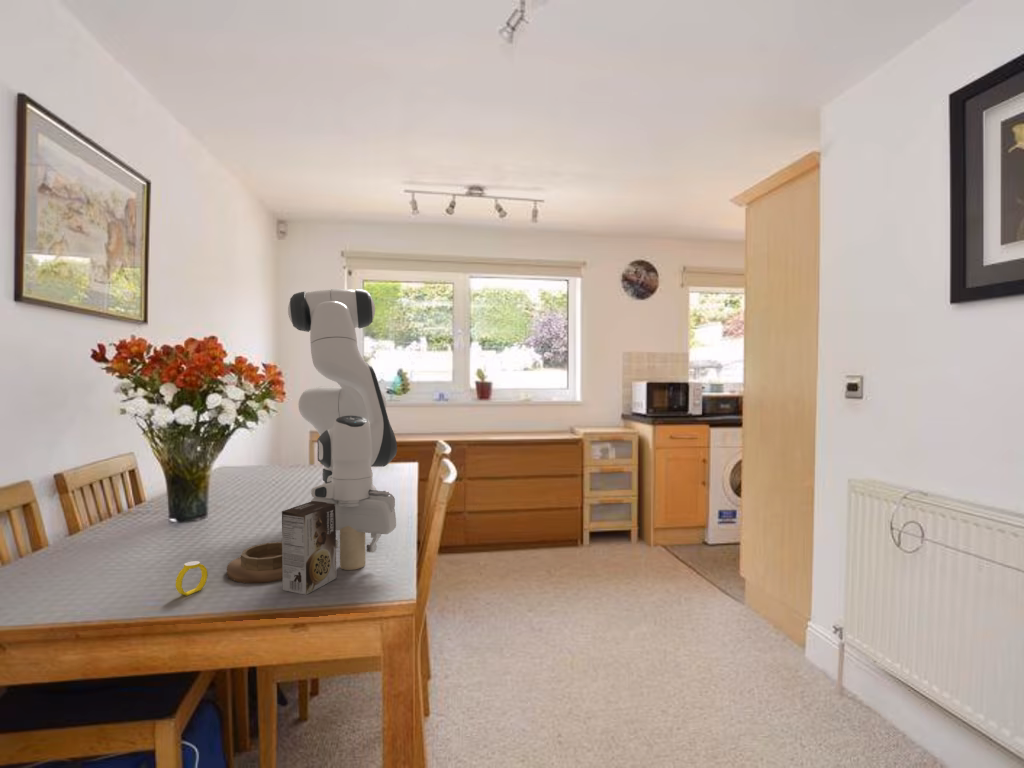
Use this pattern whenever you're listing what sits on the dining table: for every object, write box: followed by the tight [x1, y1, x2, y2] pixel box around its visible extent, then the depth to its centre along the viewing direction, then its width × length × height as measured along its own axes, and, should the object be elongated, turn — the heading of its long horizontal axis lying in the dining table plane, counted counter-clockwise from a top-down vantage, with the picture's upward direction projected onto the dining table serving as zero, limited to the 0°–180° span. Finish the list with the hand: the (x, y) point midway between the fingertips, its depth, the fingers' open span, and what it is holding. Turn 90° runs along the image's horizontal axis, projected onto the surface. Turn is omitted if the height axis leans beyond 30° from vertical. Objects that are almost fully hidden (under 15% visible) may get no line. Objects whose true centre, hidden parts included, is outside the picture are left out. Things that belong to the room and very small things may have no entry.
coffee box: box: [281, 501, 337, 596], centre depth 110 cm, size 9×6×16 cm
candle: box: [339, 526, 366, 571], centre depth 120 cm, size 6×6×10 cm
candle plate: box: [226, 541, 283, 584], centre depth 119 cm, size 17×17×4 cm
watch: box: [175, 560, 209, 597], centre depth 106 cm, size 6×3×6 cm, turn 159°
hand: (352, 549), depth 121 cm, fingers open, 8 cm apart
